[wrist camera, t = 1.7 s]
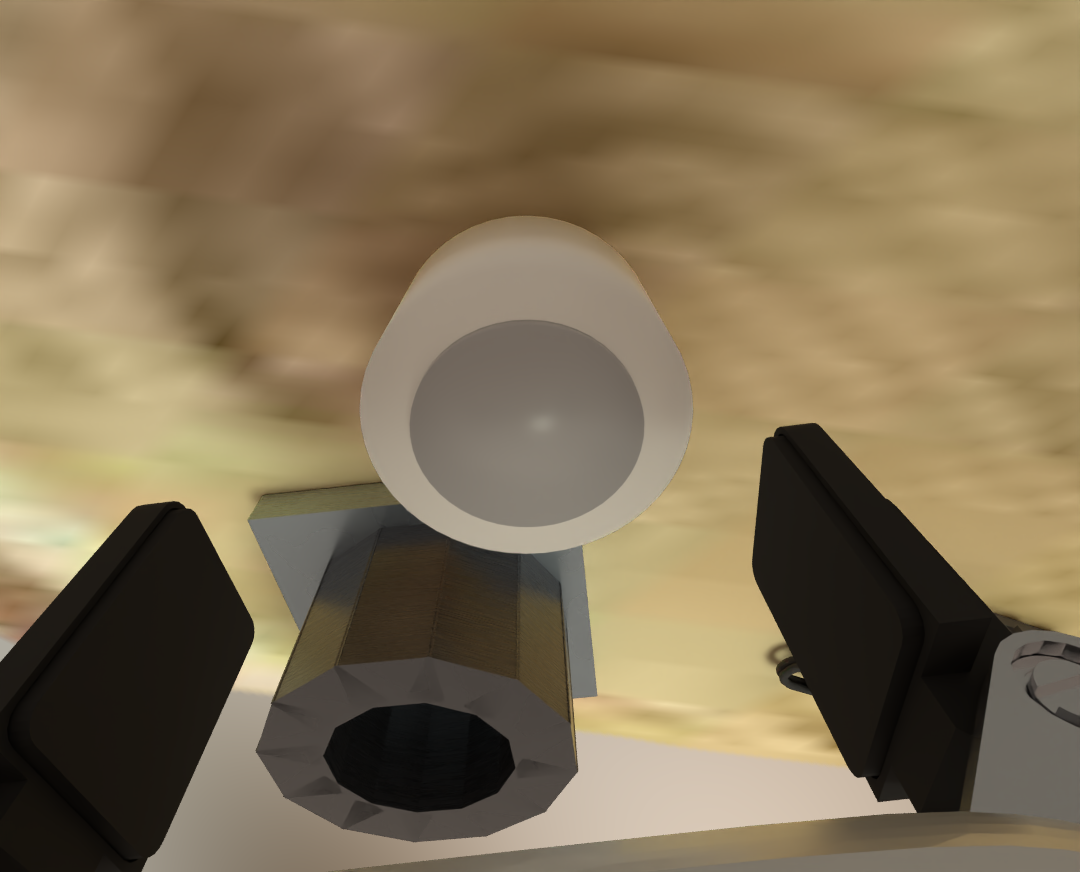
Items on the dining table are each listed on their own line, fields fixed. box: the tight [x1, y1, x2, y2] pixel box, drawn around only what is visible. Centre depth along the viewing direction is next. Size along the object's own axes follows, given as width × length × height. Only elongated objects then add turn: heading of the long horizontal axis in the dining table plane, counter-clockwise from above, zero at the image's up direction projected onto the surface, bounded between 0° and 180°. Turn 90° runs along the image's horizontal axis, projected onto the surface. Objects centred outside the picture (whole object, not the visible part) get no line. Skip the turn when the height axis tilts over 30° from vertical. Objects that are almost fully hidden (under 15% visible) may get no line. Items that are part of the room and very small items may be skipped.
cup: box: [360, 216, 693, 554], centre depth 16 cm, size 7×7×8 cm
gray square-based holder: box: [248, 483, 597, 842], centre depth 23 cm, size 12×12×8 cm
